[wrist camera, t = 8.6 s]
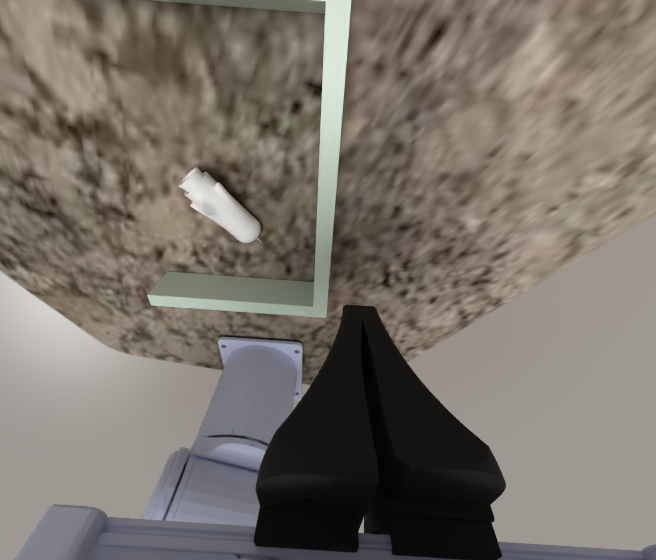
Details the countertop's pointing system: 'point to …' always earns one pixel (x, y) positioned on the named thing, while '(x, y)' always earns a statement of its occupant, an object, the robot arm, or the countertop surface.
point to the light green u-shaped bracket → (314, 295)
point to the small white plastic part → (219, 205)
